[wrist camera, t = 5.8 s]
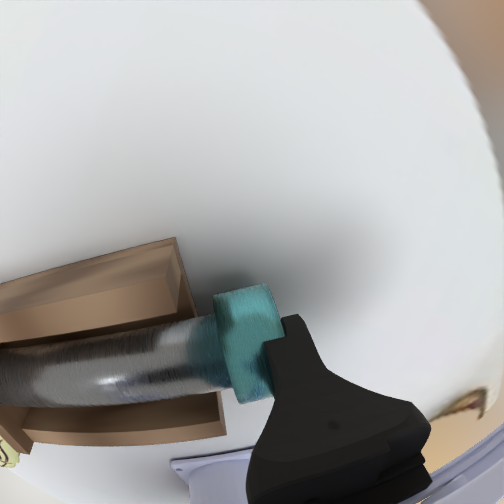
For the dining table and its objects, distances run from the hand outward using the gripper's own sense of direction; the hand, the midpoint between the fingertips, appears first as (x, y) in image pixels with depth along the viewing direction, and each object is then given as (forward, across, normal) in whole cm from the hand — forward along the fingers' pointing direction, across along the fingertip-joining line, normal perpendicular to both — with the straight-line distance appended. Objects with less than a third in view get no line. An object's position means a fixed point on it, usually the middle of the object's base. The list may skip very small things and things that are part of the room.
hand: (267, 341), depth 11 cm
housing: (+3, +9, 0) cm, 9 cm away
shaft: (+2, +7, 0) cm, 7 cm away
